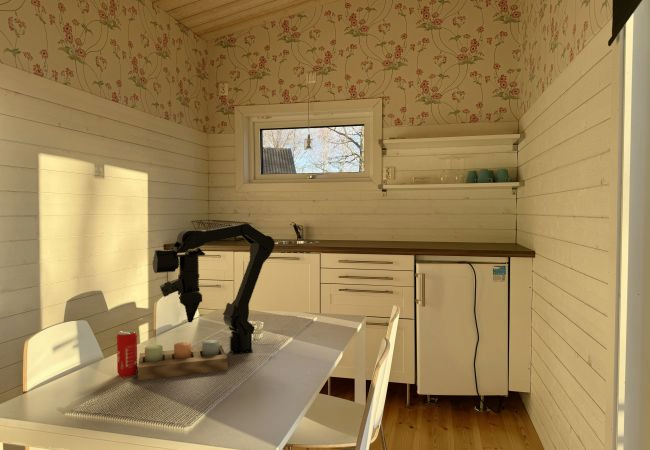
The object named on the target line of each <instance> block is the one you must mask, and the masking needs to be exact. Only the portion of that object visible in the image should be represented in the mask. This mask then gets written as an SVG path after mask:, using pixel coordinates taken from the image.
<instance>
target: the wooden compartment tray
mask: <svg viewBox="0 0 650 450" xmlns="http://www.w3.org/2000/svg"><path fill="white" fill-rule="evenodd" d="M228 364H229V362H228V357H227V355H226V352H225V350H224V348H223V346H222V345H219V355H213V356H204V357H203V356H202V346H201V347H193V348H192V347H191V358H184V359H174V349H171V350H163V361H155V362H145V352H142V353H139V357H138V363H137V380H138V381H143V380H153V379H162V378H163V379H164V378H170V377H171V378H172V377H178V376H179V377H180V376H187V375H188V376H189V375H196V374H204V373H206V374H207V373H216V372H222V371H223V372H224V371H228V370H229V369H228Z"/></svg>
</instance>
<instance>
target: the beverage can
mask: <svg viewBox="0 0 650 450" xmlns="http://www.w3.org/2000/svg"><path fill="white" fill-rule="evenodd" d="M116 356H117V357H116V358H117V361H116V363H117V364H116V365H117V367H116V368H117V375H118V377H120V378H131V377H133V376H136V374H137V373H138V334H137V331H136V330H133V329H132V330H131V329H130V330H129V329H128V330H122V331H118V332H117V335H116Z"/></svg>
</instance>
